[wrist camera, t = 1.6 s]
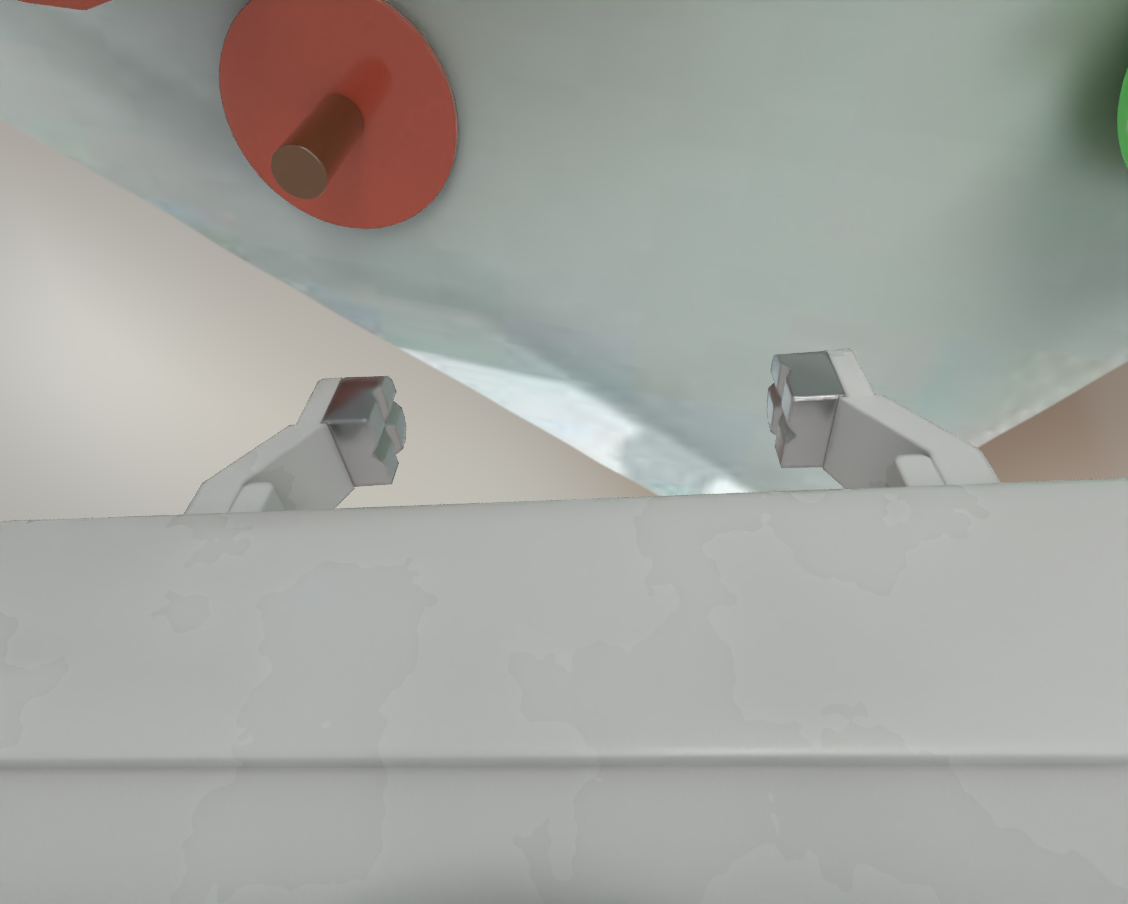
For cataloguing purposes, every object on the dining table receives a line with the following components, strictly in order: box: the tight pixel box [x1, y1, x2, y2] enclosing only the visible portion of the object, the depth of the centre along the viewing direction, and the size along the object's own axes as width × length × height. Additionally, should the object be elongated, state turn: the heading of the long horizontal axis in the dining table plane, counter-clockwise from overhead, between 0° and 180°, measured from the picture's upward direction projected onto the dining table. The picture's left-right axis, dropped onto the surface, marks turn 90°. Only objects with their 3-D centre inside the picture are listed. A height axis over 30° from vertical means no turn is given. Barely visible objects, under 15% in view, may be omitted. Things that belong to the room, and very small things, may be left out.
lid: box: [219, 0, 458, 229], centre depth 35 cm, size 13×13×9 cm
